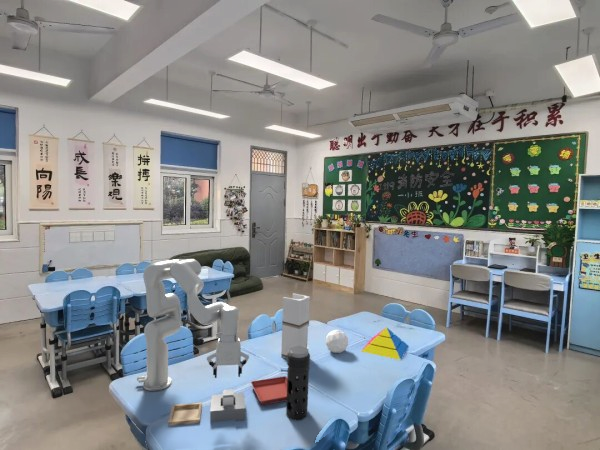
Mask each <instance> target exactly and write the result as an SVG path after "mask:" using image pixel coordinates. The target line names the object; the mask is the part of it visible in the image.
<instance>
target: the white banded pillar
mask: <svg viewBox="0 0 600 450" xmlns="http://www.w3.org/2000/svg"><path fill="white" fill-rule="evenodd" d="M310 302H311V296H308V295H304V294H299V293H294V292H293V293H292V297H286V296H283V297H282V318H281V319H282V323H281V324H282V326H281V356H280V357H281V358H282V359H286V360H287V354H288V353H289V349H290V348H292V347H295V346H302V347H306V348H307V349H308V341H309V340H308V337H309V334H308V333H309V326H310V312H311V311H310V309H311V308H310V307H311V306H310V305H311V303H310Z"/></svg>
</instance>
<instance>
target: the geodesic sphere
mask: <svg viewBox="0 0 600 450" xmlns="http://www.w3.org/2000/svg"><path fill="white" fill-rule="evenodd" d="M325 345H326V348H328V350H329V351H330V352H331V353H334V354H341V353H342V352H344V351H346V350H347V348H348V346H349V339H348V337H347V335H346V333H345V332H343V330H340V329H334V330H331V331H330V332H328V334H327V335H326V337H325Z"/></svg>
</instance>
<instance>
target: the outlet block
mask: <svg viewBox="0 0 600 450" xmlns="http://www.w3.org/2000/svg"><path fill="white" fill-rule="evenodd" d="M245 397H246V396H245V392H234V405H228V406H223V393H220V394H211V399H210V408H209V409H210V413H209V415H210V416H209V418H210V419H209V420H210V423H212V422H224V421H233V420H234V421H237V422H238V421H246V398H245Z"/></svg>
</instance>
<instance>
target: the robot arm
mask: <svg viewBox="0 0 600 450" xmlns="http://www.w3.org/2000/svg"><path fill="white" fill-rule="evenodd" d="M201 272H202V266H201V264H200V262H199V261H198V260H196V259H195V258H176V259H169V260H164V261H163V260H162V261H157V262H154V263H151V264H148V265H147V266H146V267H145V268H144V270H143V277H142V278H143V284H144V286H145V296H146V297H145V298H146V311H147V315H148V317H150V318H154V319H153V320H151V321H149V322H148V323H147V324H145V326H144V329H143V332H144V338H145V343H146V375H143V376H142V375H139V376H136V381H137V382H138V383H139V384H140V383H141V384H142V383H143V384H142V386H143V389H144V390H145V391H149V392H155V391H162V390H164V389H167V388H168V387H170V386H171V384H172V378H171V377H169V347H168V346H169V345H168V344H167V342H166V341H165V338H167V337H170V336H172V335H175V334H177V333H178V332H179V331H180V329H181V326H182V314H181V313H182V311H181V300H180V298H179V297H178V295H177V294H175V293H172V292H169V293H166V286H165V284H164V282H163V281H164V280H168V279H173V280H174V281H175V282H176V283H177V284H178V286H179V287H180V289H182V290H183V292H184V293H185V294H186V296H187V297H186V302H187V307H188V311H189V312H190V314H191V315H192V316H193V317H194V319H195V320H196V321H197V323H199V324H201V325H203V326H208V325H211V324H214V323H216V322H219V321H220V322H219V333H216V336H215V337H216V338H218V339H217V342H216V347H215V349H216V350H215V352H214V353H212V354H210V355H208V356H207V357H206V361H207V363H208V365H209V366H210V367H212V371H213V372H212V373H213V374H212V376H214V379H217V377H218V376H217V374H218V367H219V366H236V365H237V366H238V367H237V368H238V369H237V371H238V372H237V375H238V377H239V378H240V377H241V374H243V367H244V366H245V365H246V364H247V362H248V361H249V359H250V355H249V354H247V353H245V352H242V351H241V349H242V348H241V347H242V346H241V340H240V338H239V325H240V323H239V321H240V310H239V308H238V307H237V306H234V305H229V304H227V303H226V302H224V301H217V302H214V303H211V304H207V305H204V304H203V303H202V302H201V300H200V299H199V296H198V295H199V294H200V293H201V292H202V290H203V288H204V285H205V282H204V281H203V280H202V279H201V277H200V276H199V275H200V274H201ZM159 317H160V318H159ZM155 318H156V319H155ZM242 357H243V358H244V359H243V360H242V359H241V358H242ZM214 358H215V361H212V360H213V359H214Z"/></svg>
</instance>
